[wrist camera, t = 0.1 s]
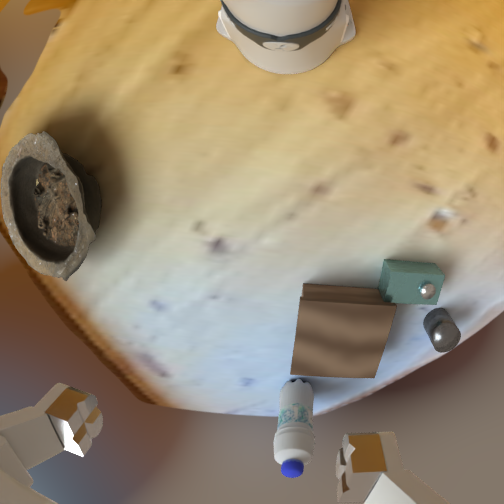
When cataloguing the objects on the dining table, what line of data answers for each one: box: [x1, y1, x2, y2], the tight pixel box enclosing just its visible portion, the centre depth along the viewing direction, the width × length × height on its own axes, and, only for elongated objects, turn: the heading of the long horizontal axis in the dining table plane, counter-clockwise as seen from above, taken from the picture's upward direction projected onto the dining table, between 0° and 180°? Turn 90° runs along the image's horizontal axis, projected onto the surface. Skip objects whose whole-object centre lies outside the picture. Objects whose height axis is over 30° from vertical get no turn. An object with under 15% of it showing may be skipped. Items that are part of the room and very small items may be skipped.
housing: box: [378, 259, 445, 305], centre depth 44 cm, size 5×9×5 cm, turn 88°
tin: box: [423, 308, 461, 352], centre depth 46 cm, size 5×5×6 cm
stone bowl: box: [1, 131, 102, 281], centre depth 46 cm, size 25×25×9 cm
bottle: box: [274, 379, 315, 478], centre depth 49 cm, size 7×7×20 cm
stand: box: [290, 284, 397, 378], centre depth 48 cm, size 14×14×6 cm
